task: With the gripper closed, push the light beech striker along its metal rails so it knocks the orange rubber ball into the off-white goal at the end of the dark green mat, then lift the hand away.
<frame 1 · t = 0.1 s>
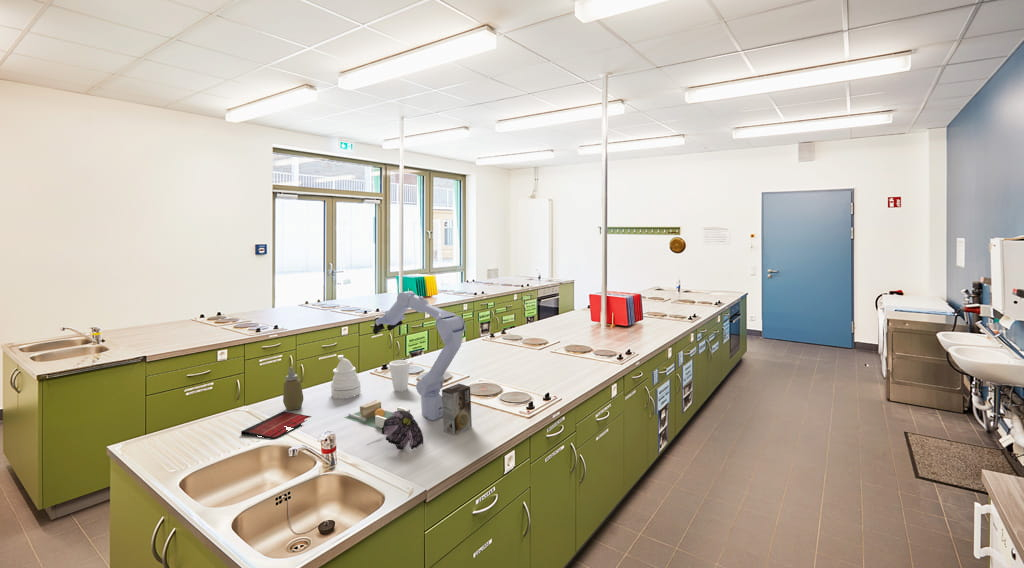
hand: (381, 330, 206), 32 cm above the counter, tool tilted 50°, fingers open, 7 cm apart
coffee box: (457, 430, 179), on the counter
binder: (279, 428, 186), on the counter
squeeze bottle: (294, 408, 205), on the counter
pitch mat: (378, 420, 190), on the counter
ball: (379, 413, 189), point 3 cm above the counter, touching pitch mat
goal: (393, 424, 184), resting on pitch mat
decorative flower: (404, 443, 168), on the counter
striker: (370, 409, 192), point 3 cm above the counter, slide at 0.0 cm, touching pitch mat
foam cup: (400, 389, 227), on the counter
honey pot: (346, 394, 223), on the counter
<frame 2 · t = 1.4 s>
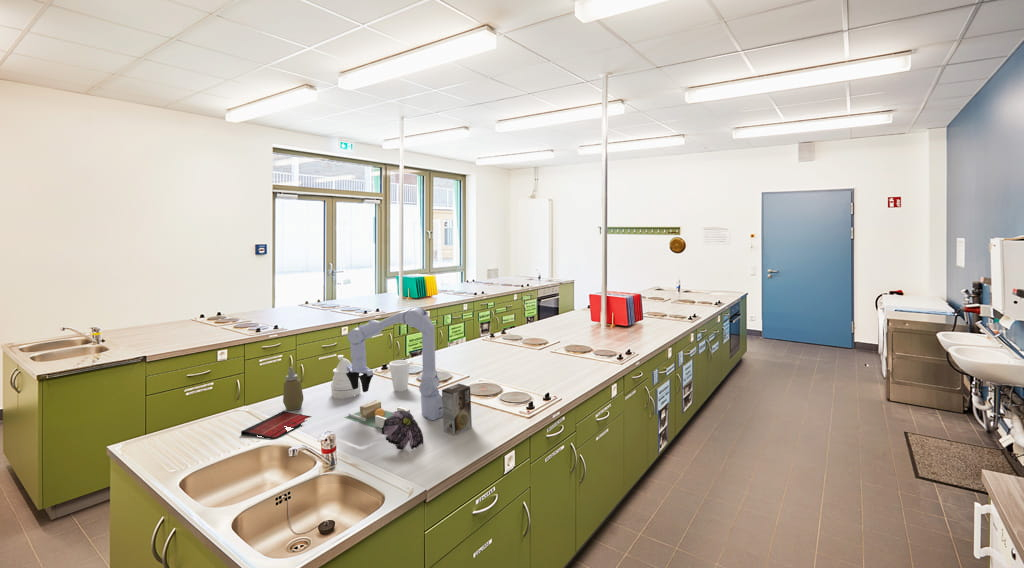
hand: (360, 390, 195), 10 cm above the counter, tool pointing down, fingers open, 6 cm apart
nothing on the counter moved.
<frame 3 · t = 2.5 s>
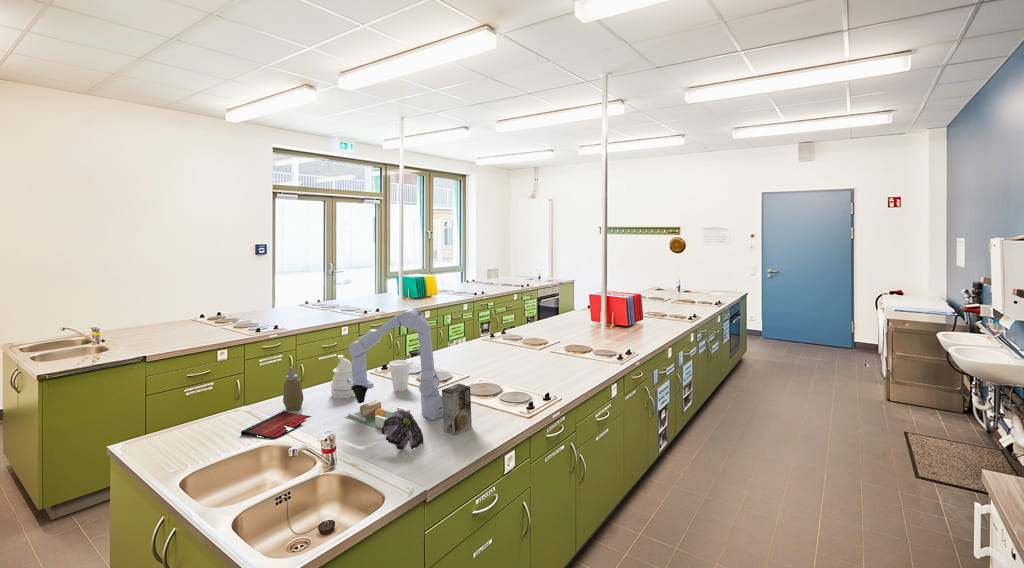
hand: (360, 402, 195), 5 cm above the counter, tool pointing down, fingers closed
nothing on the counter moved.
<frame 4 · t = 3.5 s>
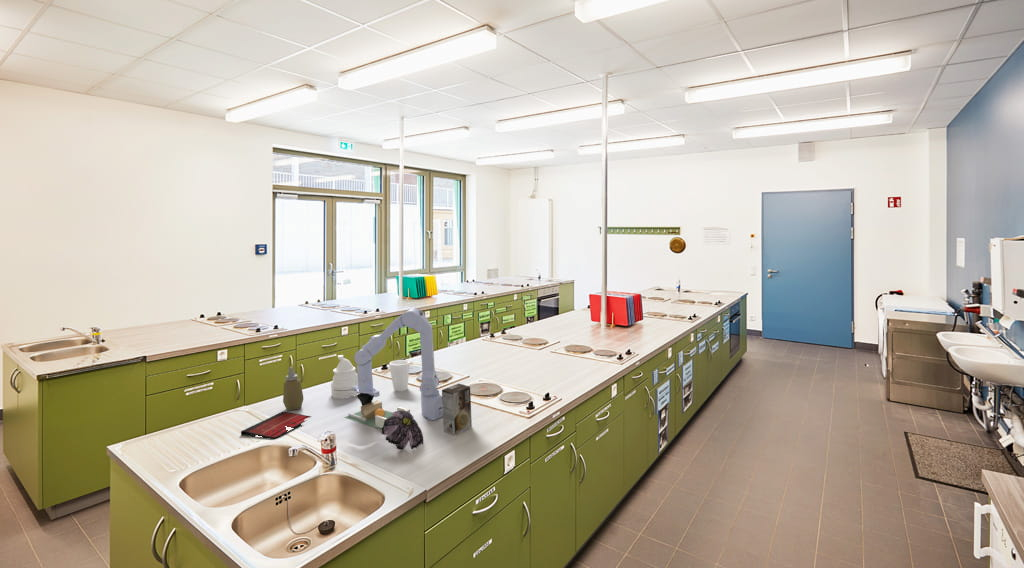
hand: (366, 410, 193), 2 cm above the counter, tool pointing down, fingers closed
striker: (371, 410, 191), point 3 cm above the counter, slide at 0.6 cm, touching gripper, pitch mat
everything else where it was.
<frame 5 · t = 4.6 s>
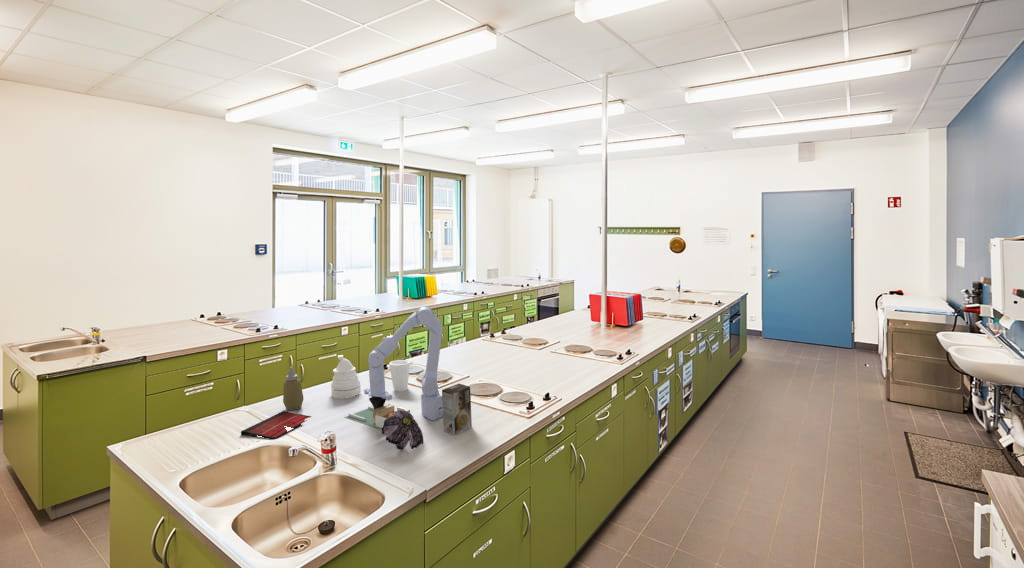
hand: (379, 414, 189), 2 cm above the counter, tool pointing down, fingers closed
ball: (393, 417, 184), point 3 cm above the counter, tilted 137°, touching pitch mat
striker: (384, 413, 187), point 3 cm above the counter, slide at 8.0 cm, touching gripper, pitch mat
everything else where it was.
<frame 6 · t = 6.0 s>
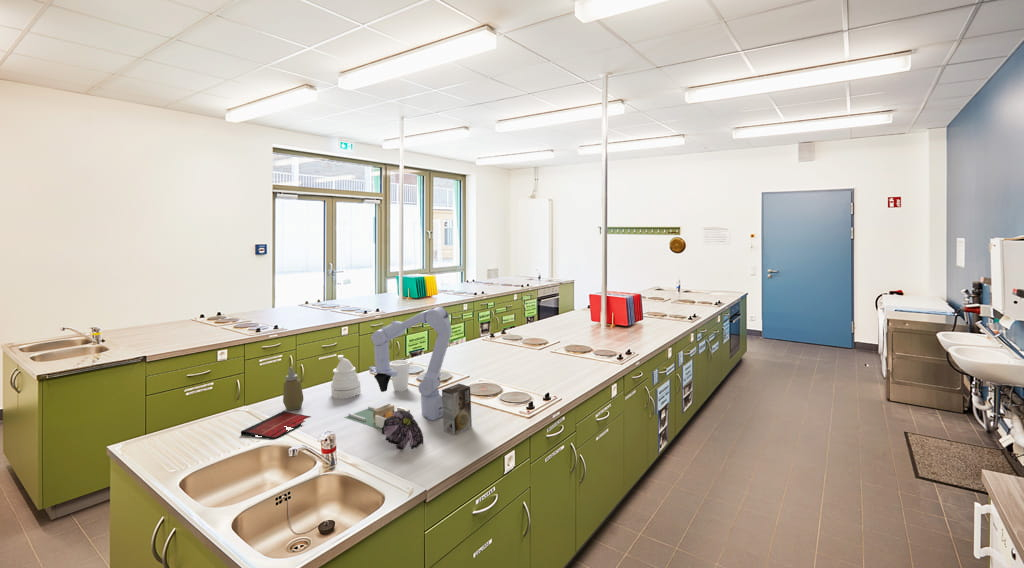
hand: (383, 391, 196), 9 cm above the counter, tool pointing down, fingers closed
ball: (390, 416, 185), point 3 cm above the counter, tilted 171°, touching pitch mat
striker: (383, 413, 187), point 3 cm above the counter, slide at 8.0 cm, touching pitch mat
everything else where it was.
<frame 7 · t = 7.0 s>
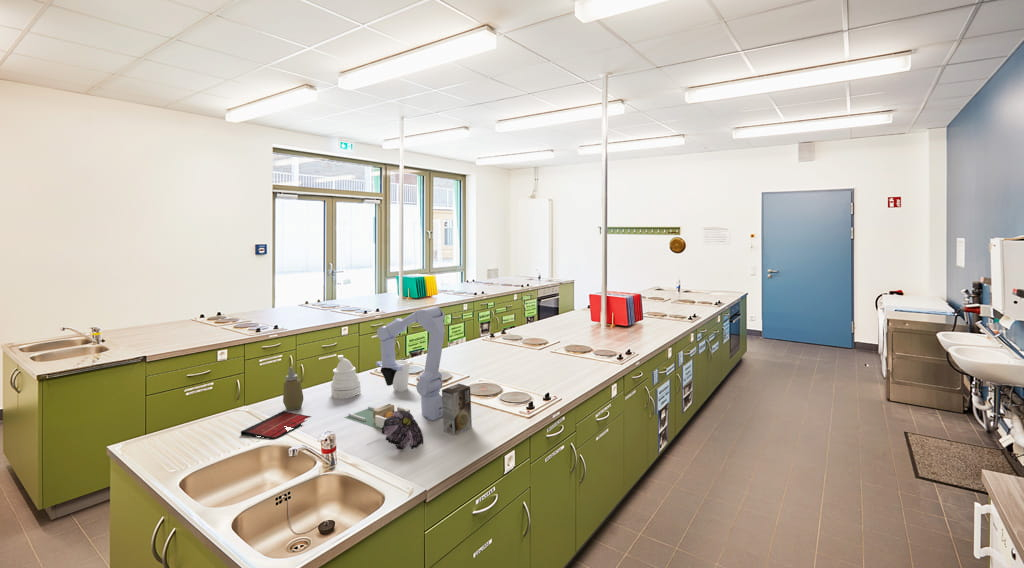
hand: (389, 384, 204), 9 cm above the counter, tool pointing down, fingers closed
nothing on the counter moved.
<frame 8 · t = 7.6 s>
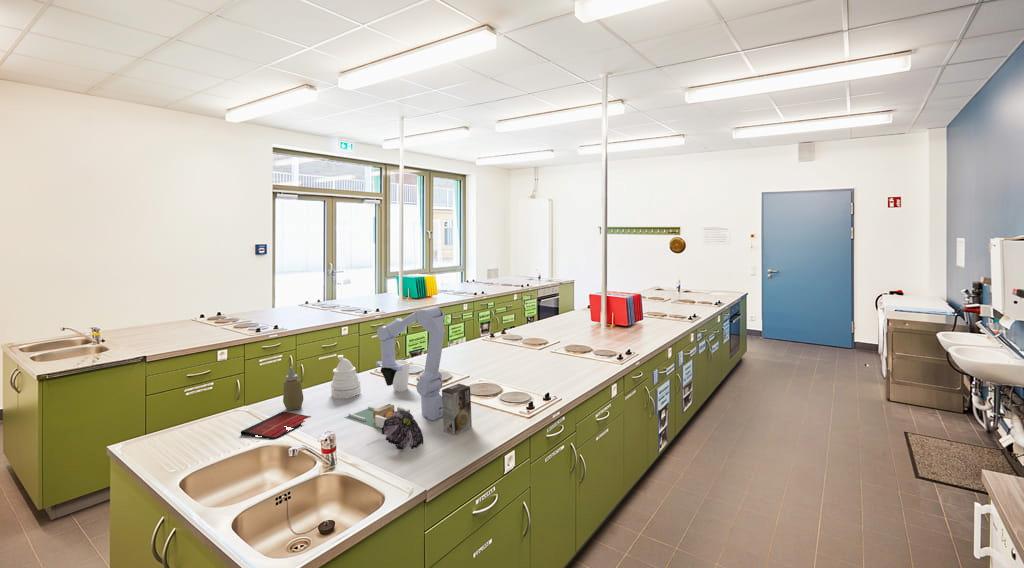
hand: (389, 384, 204), 9 cm above the counter, tool pointing down, fingers closed
nothing on the counter moved.
at the end: ball inside the target area (0.7 cm from its centre), point 2.8 cm above the counter; striker slide at 8.0 cm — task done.
